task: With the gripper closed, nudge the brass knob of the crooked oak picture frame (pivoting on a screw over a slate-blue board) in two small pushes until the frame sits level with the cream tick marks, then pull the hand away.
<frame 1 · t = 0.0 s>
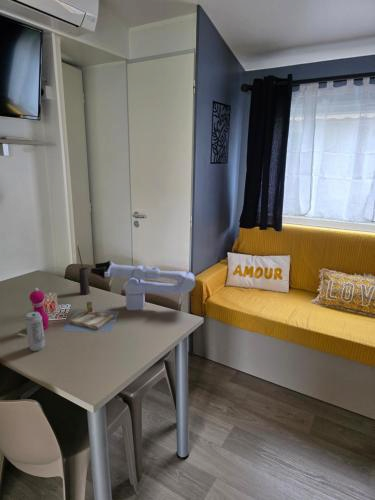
hand: (93, 268, 166), 22 cm above the table, tool horizontal, fingers open, 7 cm apart
butter churn: (87, 293, 191), on the table
board: (92, 322, 157), on the table
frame: (91, 314, 156), point 4 cm above the table, hinge at -22.0°
pepper mill: (41, 329, 151), on the table
energy drink can: (37, 348, 136), on the table
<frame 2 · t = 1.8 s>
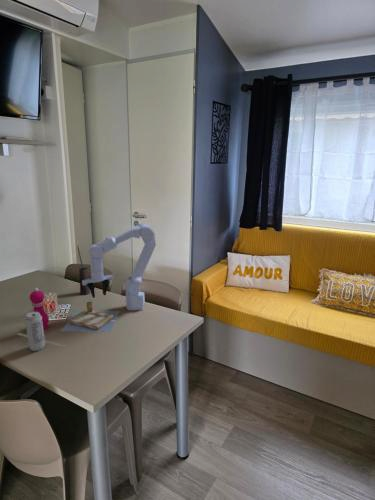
hand: (98, 295, 164), 9 cm above the table, tool pointing down, fingers open, 5 cm apart
nothing on the table moved.
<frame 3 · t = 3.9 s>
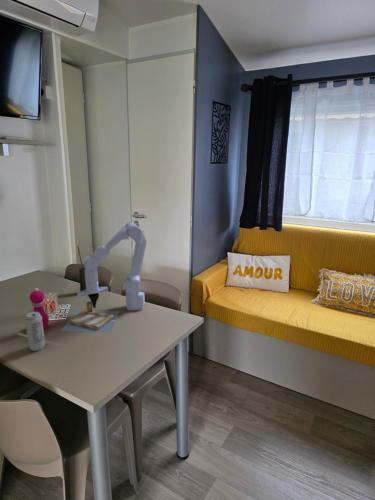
hand: (94, 307, 164), 4 cm above the table, tool pointing down, fingers closed
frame: (91, 314, 156), point 4 cm above the table, hinge at -21.5°, touching gripper
everything else where it was.
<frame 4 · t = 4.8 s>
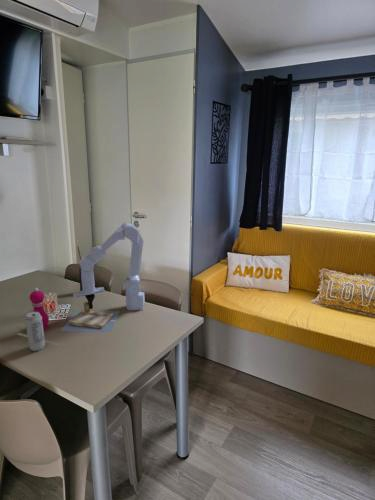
hand: (90, 308, 163), 4 cm above the table, tool pointing down, fingers closed, pressing on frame
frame: (91, 314, 156), point 4 cm above the table, hinge at -11.3°, touching gripper
everything else where it was.
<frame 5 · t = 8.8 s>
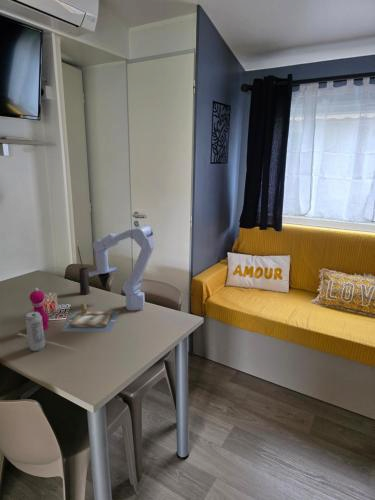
hand: (104, 286, 175), 9 cm above the table, tool pointing down, fingers closed
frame: (91, 314, 156), point 4 cm above the table, hinge at 1.1°
everything else where it was.
at the end: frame at +1° (first picture: -22°); the gripper is holding nothing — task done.
